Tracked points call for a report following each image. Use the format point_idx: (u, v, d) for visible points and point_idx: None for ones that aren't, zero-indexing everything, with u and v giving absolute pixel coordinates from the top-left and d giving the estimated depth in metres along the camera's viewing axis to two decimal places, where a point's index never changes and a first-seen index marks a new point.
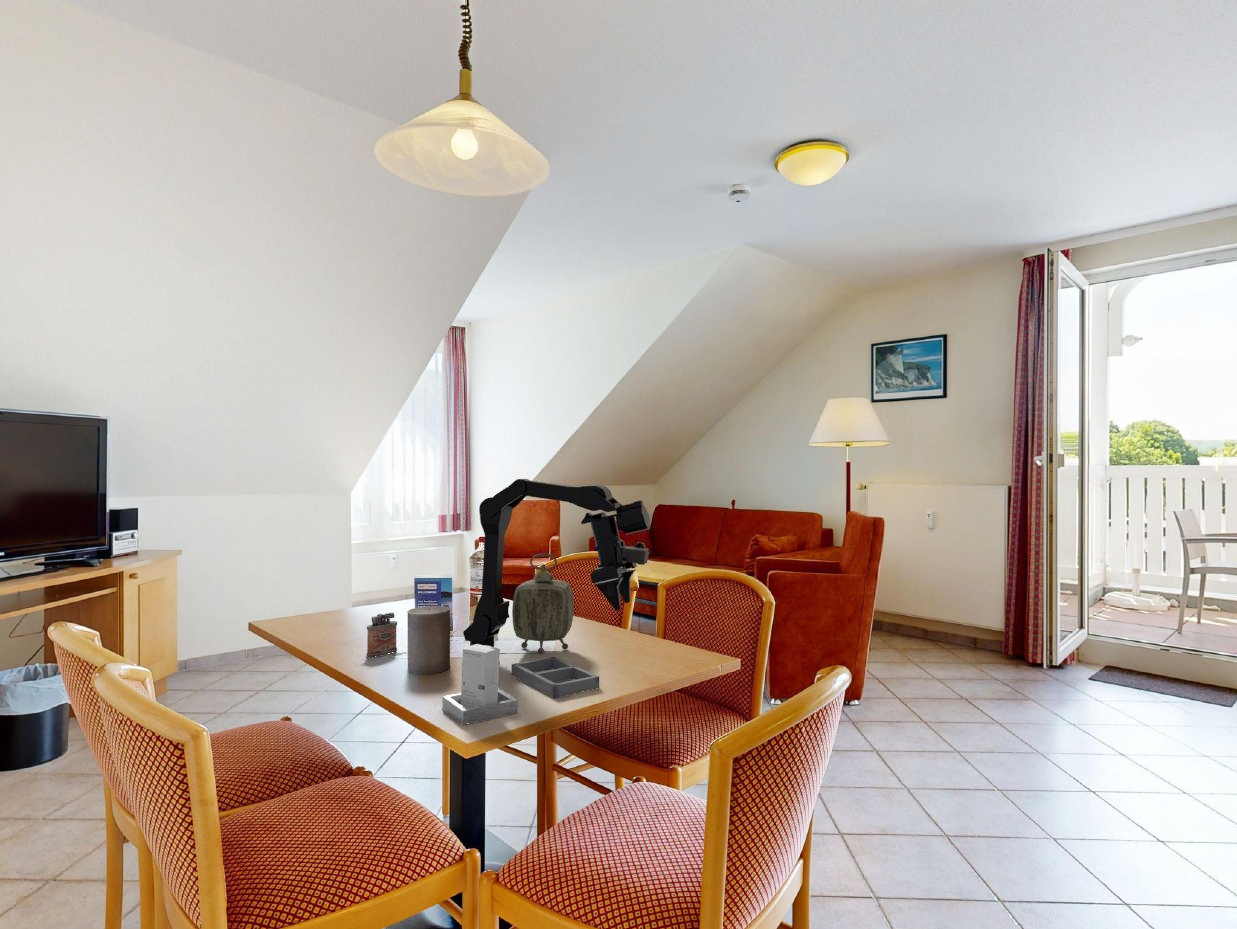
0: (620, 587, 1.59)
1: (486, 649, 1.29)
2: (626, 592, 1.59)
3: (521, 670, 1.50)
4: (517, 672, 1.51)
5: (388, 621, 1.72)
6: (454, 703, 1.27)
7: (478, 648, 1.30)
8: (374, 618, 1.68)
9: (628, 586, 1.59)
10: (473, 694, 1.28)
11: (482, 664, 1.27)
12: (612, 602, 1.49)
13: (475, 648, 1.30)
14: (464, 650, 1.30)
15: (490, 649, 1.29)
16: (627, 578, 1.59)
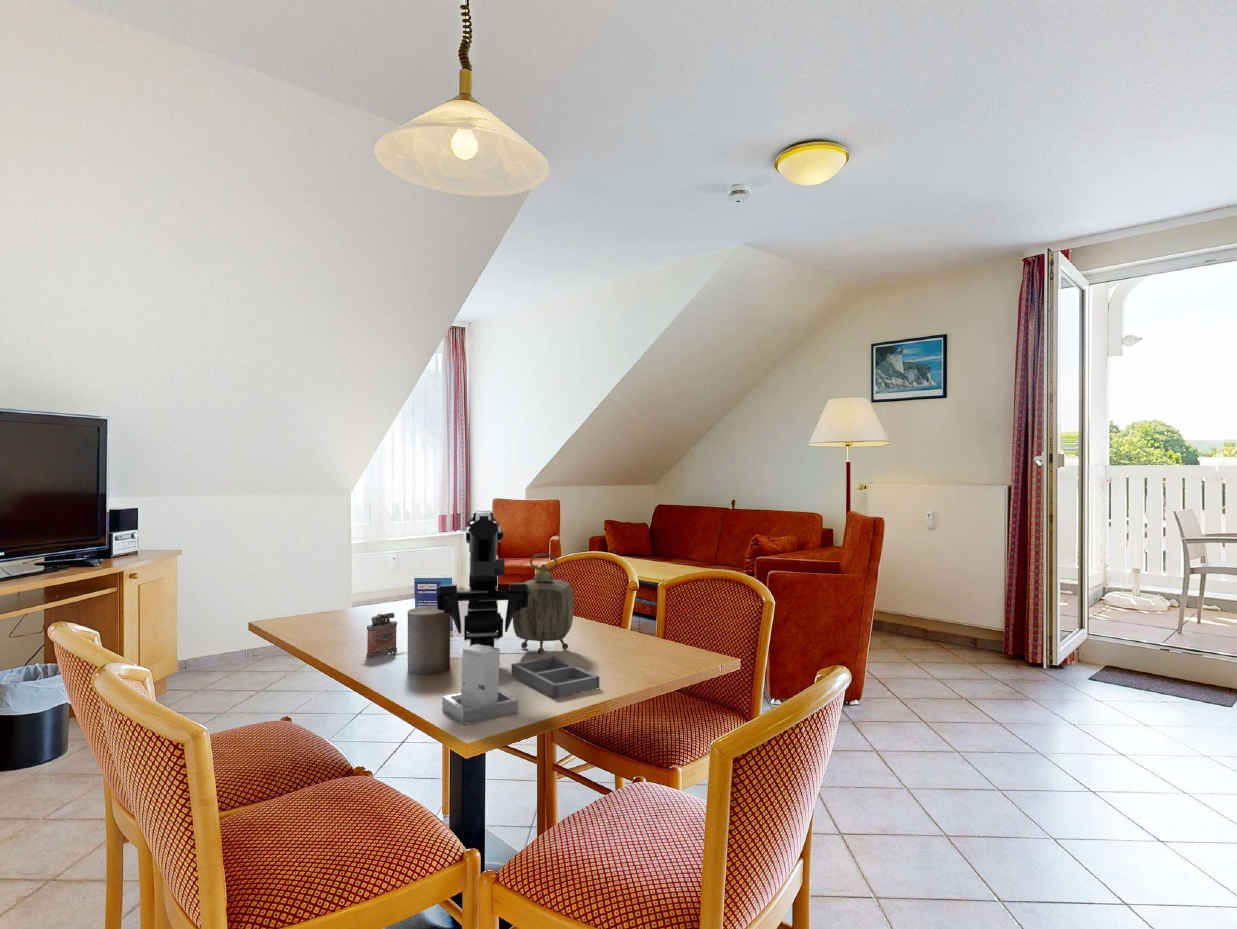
0: None
1: (486, 649, 1.29)
2: None
3: (521, 670, 1.50)
4: (517, 672, 1.51)
5: (388, 621, 1.72)
6: (454, 703, 1.27)
7: (478, 648, 1.30)
8: (374, 618, 1.68)
9: (506, 612, 1.41)
10: (473, 694, 1.28)
11: (482, 664, 1.27)
12: (456, 625, 1.39)
13: (475, 648, 1.30)
14: (464, 650, 1.30)
15: (490, 649, 1.29)
16: None
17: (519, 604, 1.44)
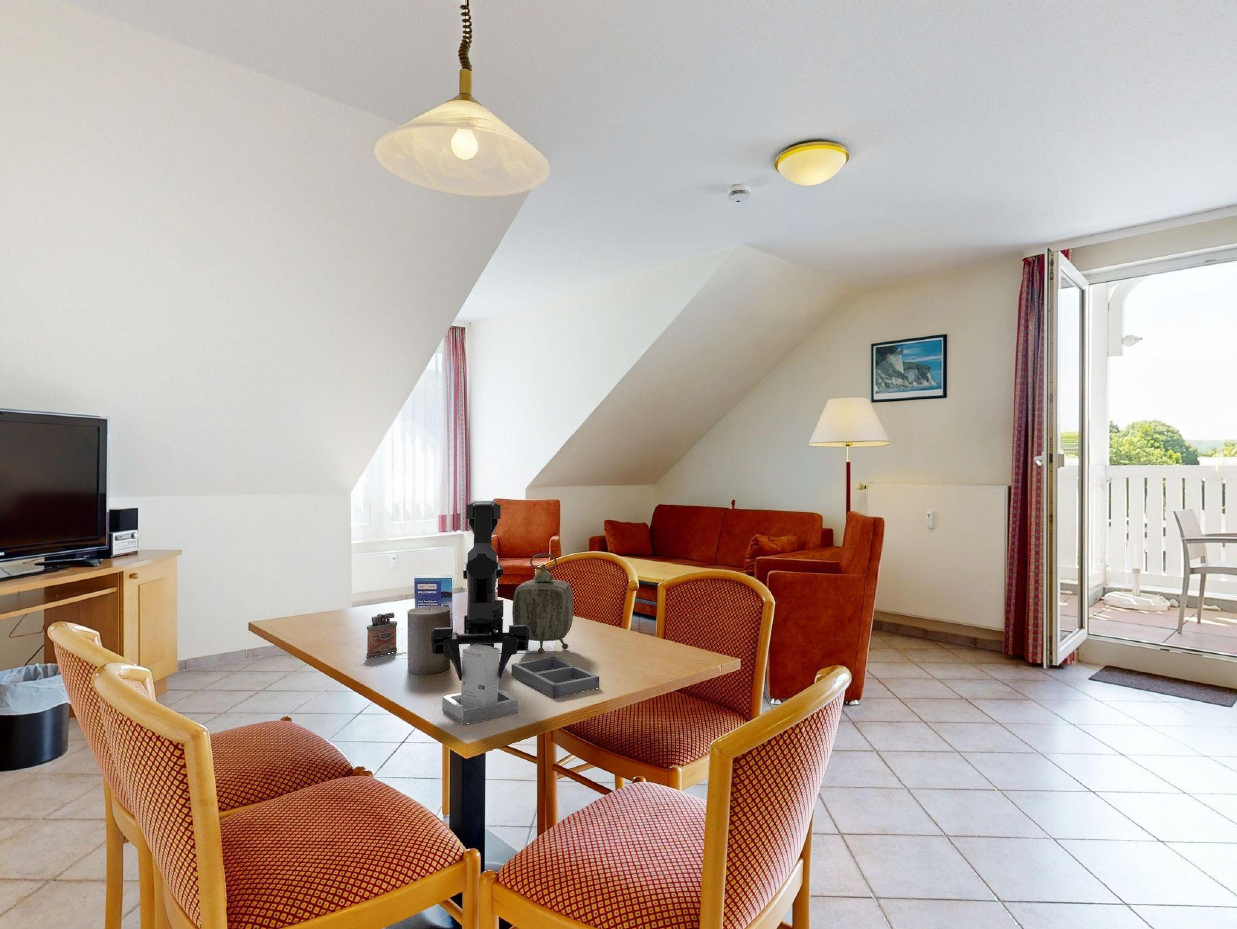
0: None
1: (486, 649, 1.29)
2: (499, 665, 1.31)
3: (521, 670, 1.50)
4: (517, 672, 1.51)
5: (388, 621, 1.72)
6: (454, 703, 1.27)
7: (478, 648, 1.30)
8: (374, 618, 1.68)
9: (500, 657, 1.31)
10: (473, 694, 1.28)
11: (482, 664, 1.27)
12: (456, 671, 1.30)
13: (475, 648, 1.30)
14: (464, 650, 1.30)
15: (490, 649, 1.29)
16: None
17: (514, 648, 1.35)
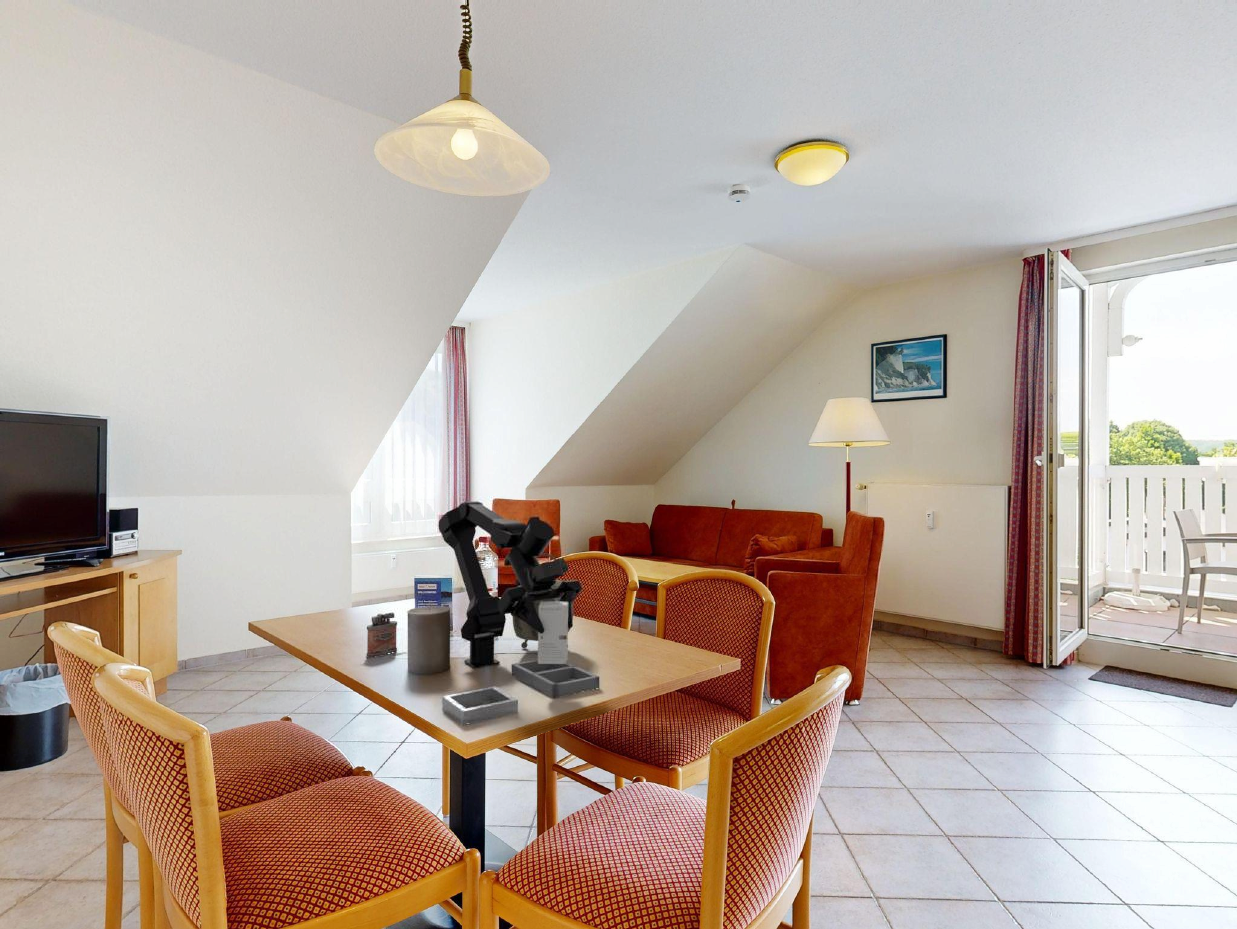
0: None
1: (561, 603, 1.41)
2: None
3: (521, 670, 1.50)
4: (517, 672, 1.51)
5: (388, 621, 1.72)
6: (454, 703, 1.27)
7: (552, 603, 1.41)
8: (374, 618, 1.68)
9: None
10: (553, 645, 1.39)
11: (563, 616, 1.40)
12: (534, 626, 1.39)
13: (550, 604, 1.41)
14: (541, 607, 1.40)
15: (563, 603, 1.42)
16: None
17: None
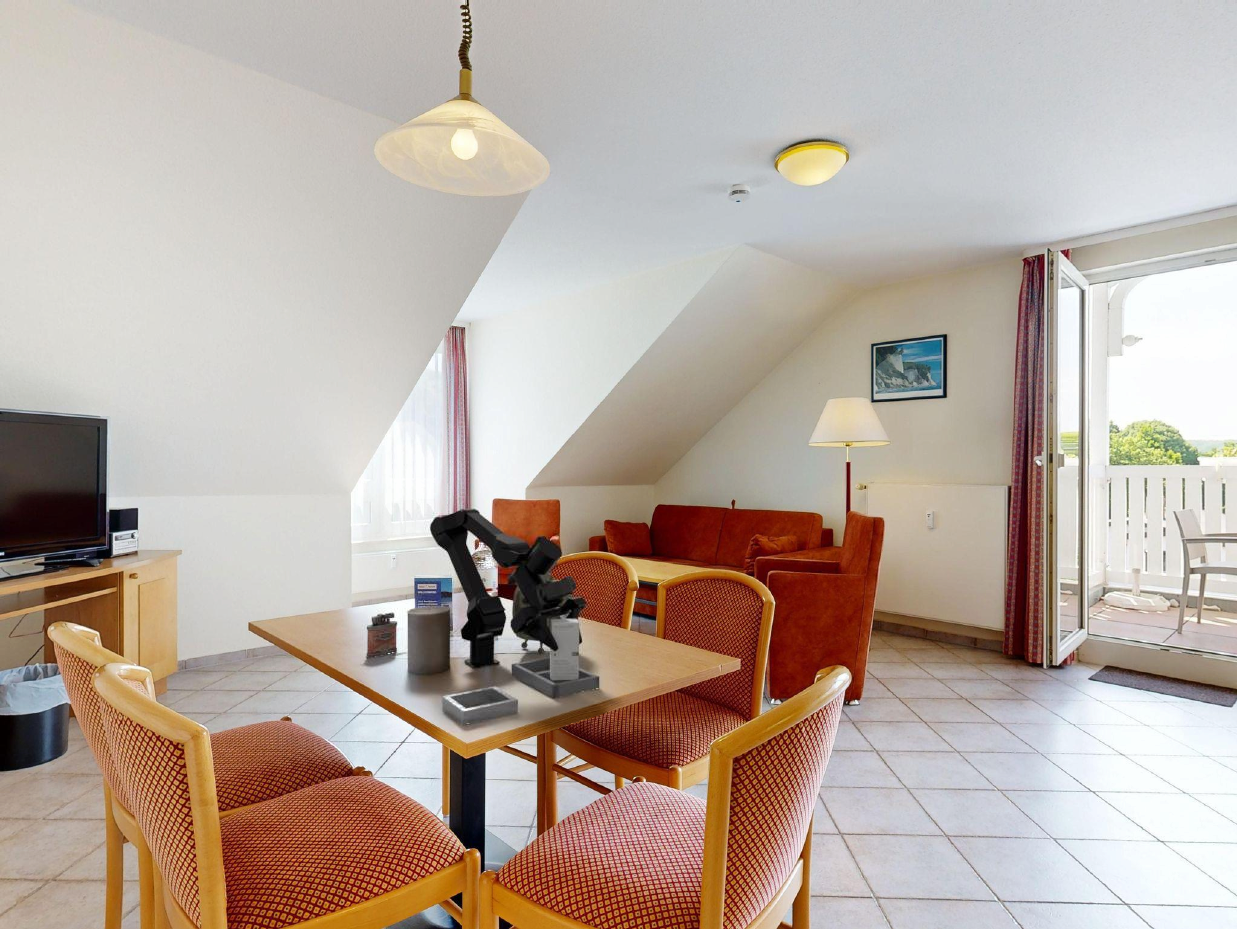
0: None
1: (572, 620, 1.45)
2: None
3: (521, 670, 1.50)
4: (517, 672, 1.51)
5: (388, 621, 1.72)
6: (454, 703, 1.27)
7: (564, 621, 1.45)
8: (374, 618, 1.68)
9: None
10: (566, 662, 1.43)
11: (575, 633, 1.44)
12: (548, 644, 1.42)
13: (562, 621, 1.44)
14: (554, 625, 1.43)
15: (574, 620, 1.46)
16: None
17: None
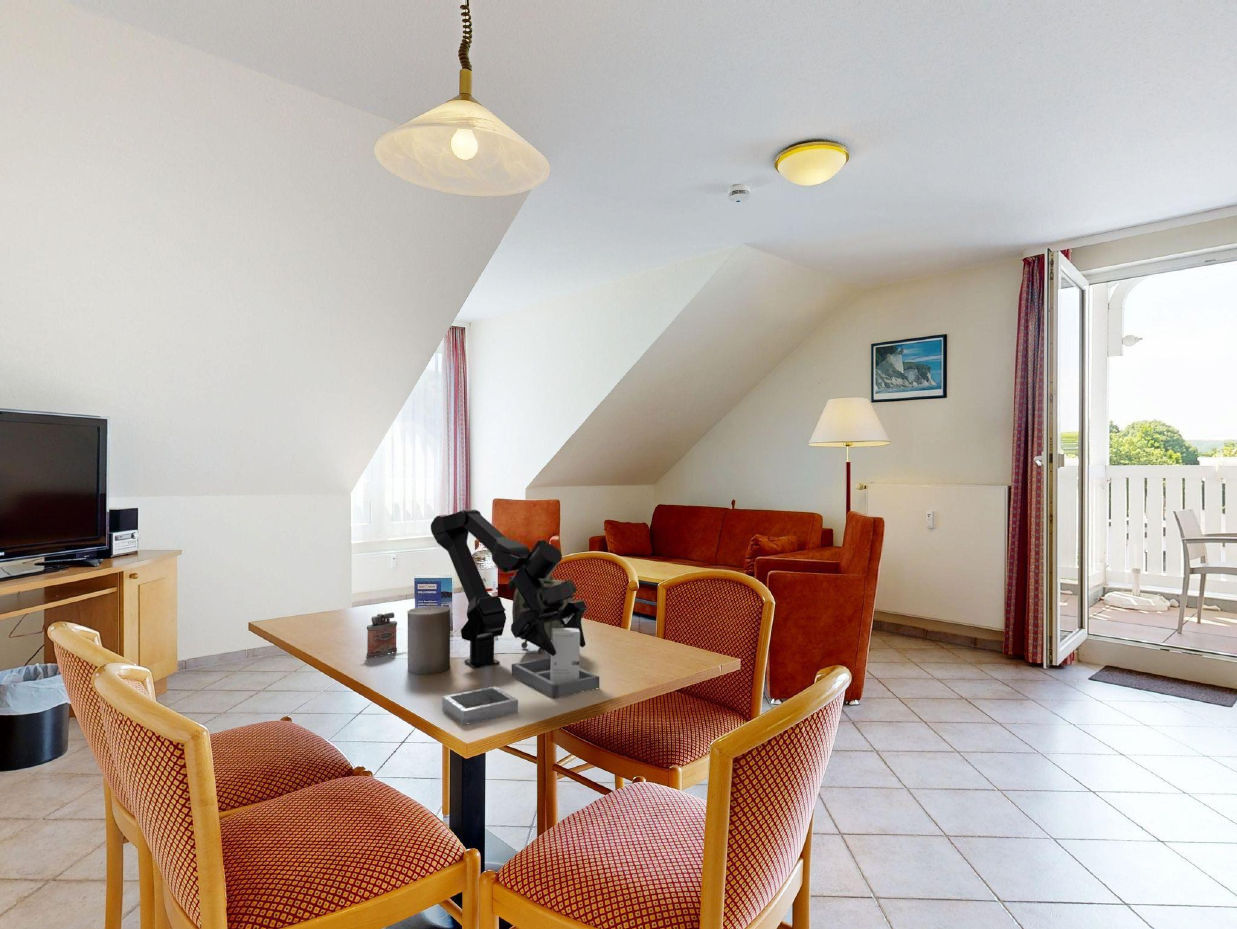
0: None
1: (573, 630, 1.46)
2: None
3: (521, 670, 1.50)
4: (517, 672, 1.51)
5: (388, 621, 1.72)
6: (454, 703, 1.27)
7: (565, 630, 1.45)
8: (374, 618, 1.68)
9: None
10: (567, 671, 1.43)
11: (576, 642, 1.44)
12: (545, 648, 1.42)
13: (562, 630, 1.45)
14: (554, 633, 1.43)
15: (575, 629, 1.46)
16: (575, 622, 1.50)
17: None
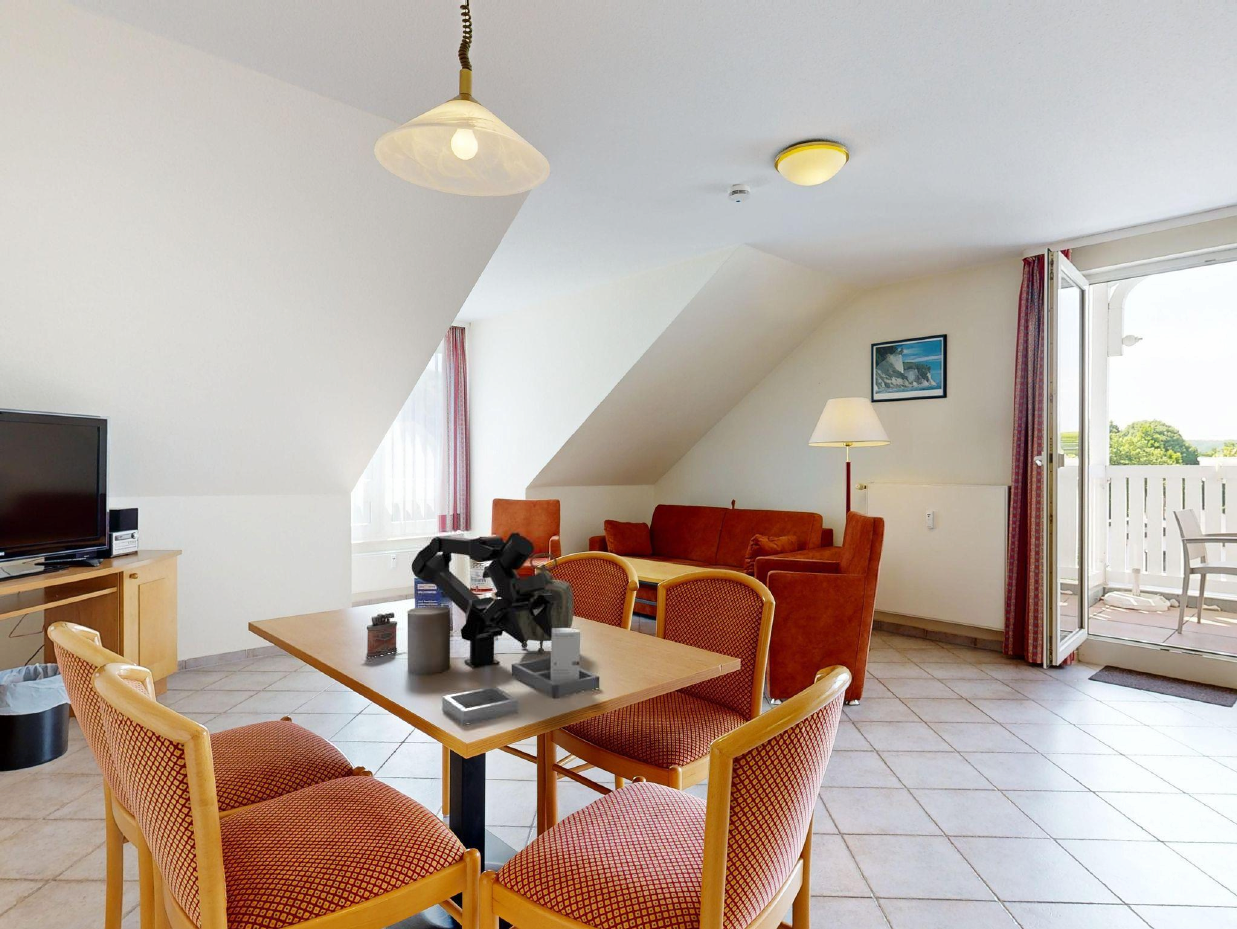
0: (542, 624, 1.56)
1: (573, 630, 1.46)
2: (547, 627, 1.55)
3: (521, 670, 1.50)
4: (517, 672, 1.51)
5: (388, 621, 1.72)
6: (454, 703, 1.27)
7: (565, 630, 1.45)
8: (374, 618, 1.68)
9: (547, 620, 1.55)
10: (567, 671, 1.43)
11: (576, 642, 1.44)
12: (515, 636, 1.47)
13: (563, 630, 1.45)
14: (555, 634, 1.43)
15: (575, 629, 1.46)
16: (544, 613, 1.56)
17: None
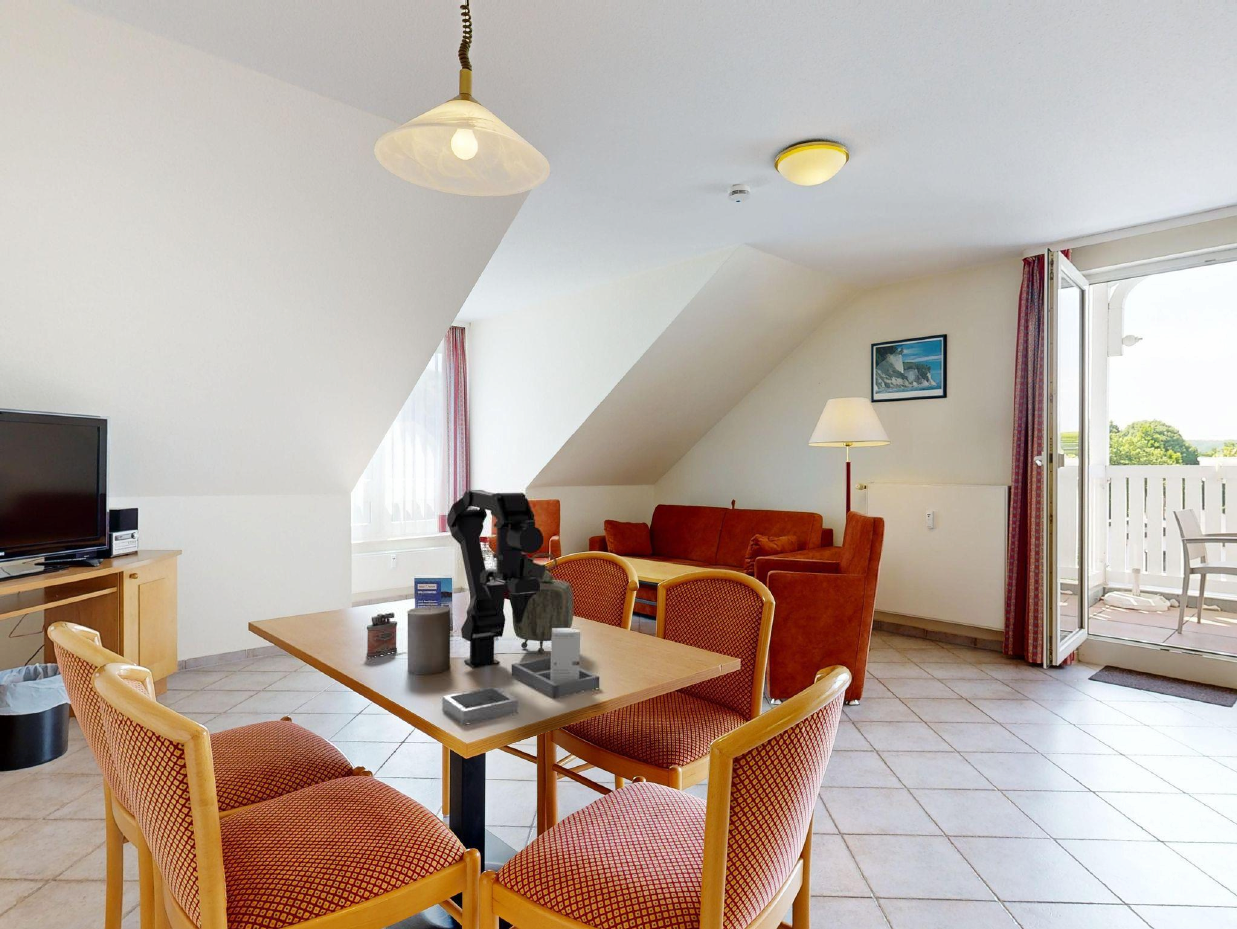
0: (496, 599, 1.55)
1: (573, 630, 1.46)
2: (501, 605, 1.55)
3: (521, 670, 1.50)
4: (517, 672, 1.51)
5: (388, 621, 1.72)
6: (454, 703, 1.27)
7: (565, 630, 1.45)
8: (374, 618, 1.68)
9: (503, 599, 1.56)
10: (567, 671, 1.43)
11: (576, 642, 1.44)
12: (517, 614, 1.47)
13: (563, 630, 1.45)
14: (555, 634, 1.43)
15: (575, 629, 1.46)
16: (504, 590, 1.56)
17: None
